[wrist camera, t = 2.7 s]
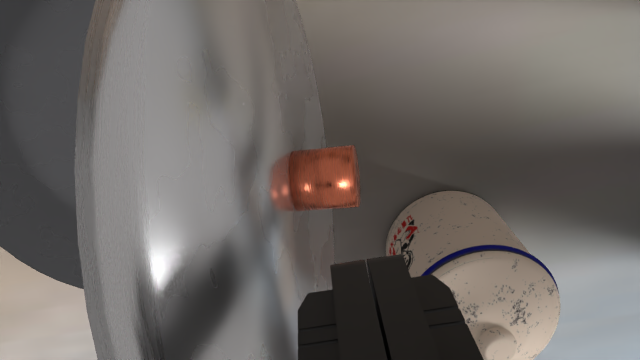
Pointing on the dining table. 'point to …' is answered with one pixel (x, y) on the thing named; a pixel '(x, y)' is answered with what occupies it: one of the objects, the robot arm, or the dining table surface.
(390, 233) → the teacup with lid
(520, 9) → the dining table surface
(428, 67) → the dining table surface
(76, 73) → the cooker pot
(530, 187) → the dining table surface
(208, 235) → the lid
